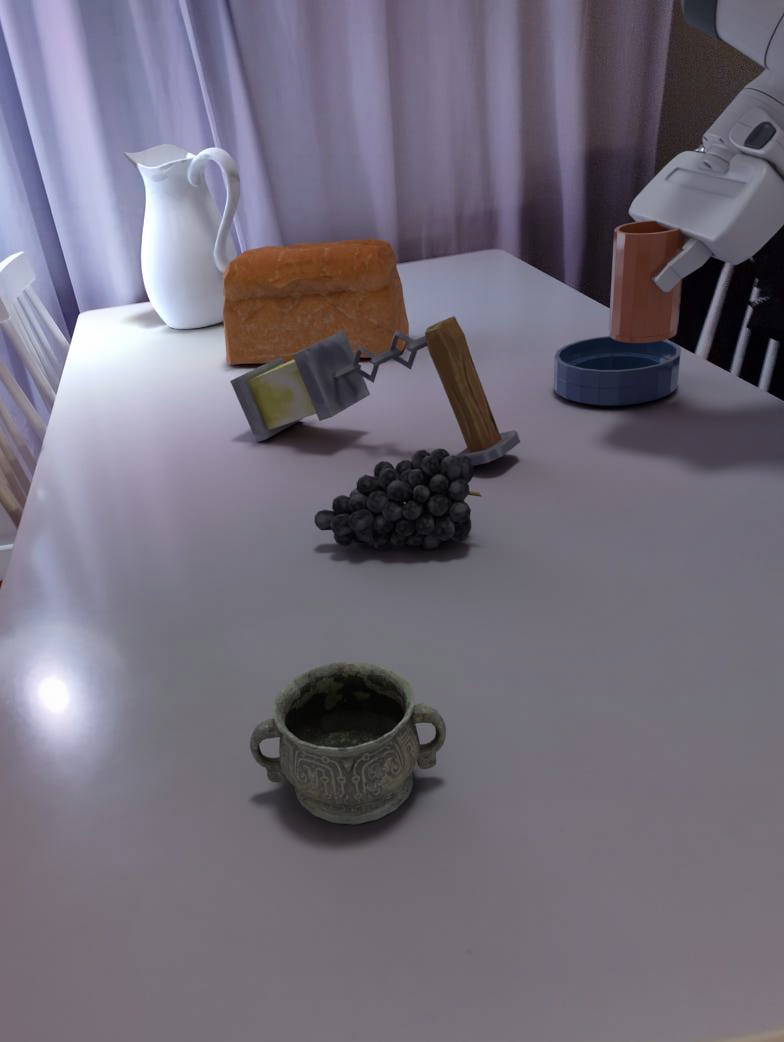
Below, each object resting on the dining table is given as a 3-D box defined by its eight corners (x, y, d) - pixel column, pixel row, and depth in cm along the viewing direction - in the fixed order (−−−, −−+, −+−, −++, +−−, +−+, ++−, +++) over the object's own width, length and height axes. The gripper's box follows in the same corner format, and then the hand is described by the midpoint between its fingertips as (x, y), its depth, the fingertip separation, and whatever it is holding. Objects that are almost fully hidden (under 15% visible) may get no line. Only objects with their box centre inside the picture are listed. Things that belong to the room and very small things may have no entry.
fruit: (301, 463, 80) (479, 446, 78) (314, 457, 88) (476, 442, 86) (311, 563, 82) (485, 549, 80) (323, 548, 90) (482, 536, 88)
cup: (666, 321, 97) (675, 217, 91) (685, 339, 91) (695, 228, 86) (602, 328, 97) (608, 225, 92) (617, 346, 92) (623, 237, 86)
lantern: (287, 513, 115) (493, 462, 94) (230, 380, 110) (433, 295, 89) (324, 488, 120) (528, 435, 98) (271, 361, 115) (473, 275, 93)
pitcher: (133, 328, 169) (97, 155, 154) (207, 304, 177) (180, 139, 163) (214, 344, 153) (182, 153, 138) (291, 317, 162) (269, 135, 147)
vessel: (439, 729, 62) (435, 651, 59) (458, 822, 55) (454, 738, 52) (260, 747, 63) (246, 670, 60) (255, 841, 56) (238, 759, 52)
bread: (246, 343, 151) (231, 243, 143) (412, 333, 144) (406, 227, 136) (221, 370, 140) (203, 263, 132) (400, 360, 133) (393, 247, 125)
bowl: (659, 366, 118) (662, 330, 116) (692, 403, 106) (696, 363, 104) (545, 378, 119) (546, 342, 117) (565, 415, 108) (566, 376, 105)
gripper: (680, 121, 94) (580, 239, 99) (792, 135, 77) (665, 278, 81) (718, 164, 96) (619, 277, 101) (835, 187, 79) (709, 323, 84)
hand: (640, 278), depth 91 cm, fingers closed on cup, 6 cm apart
